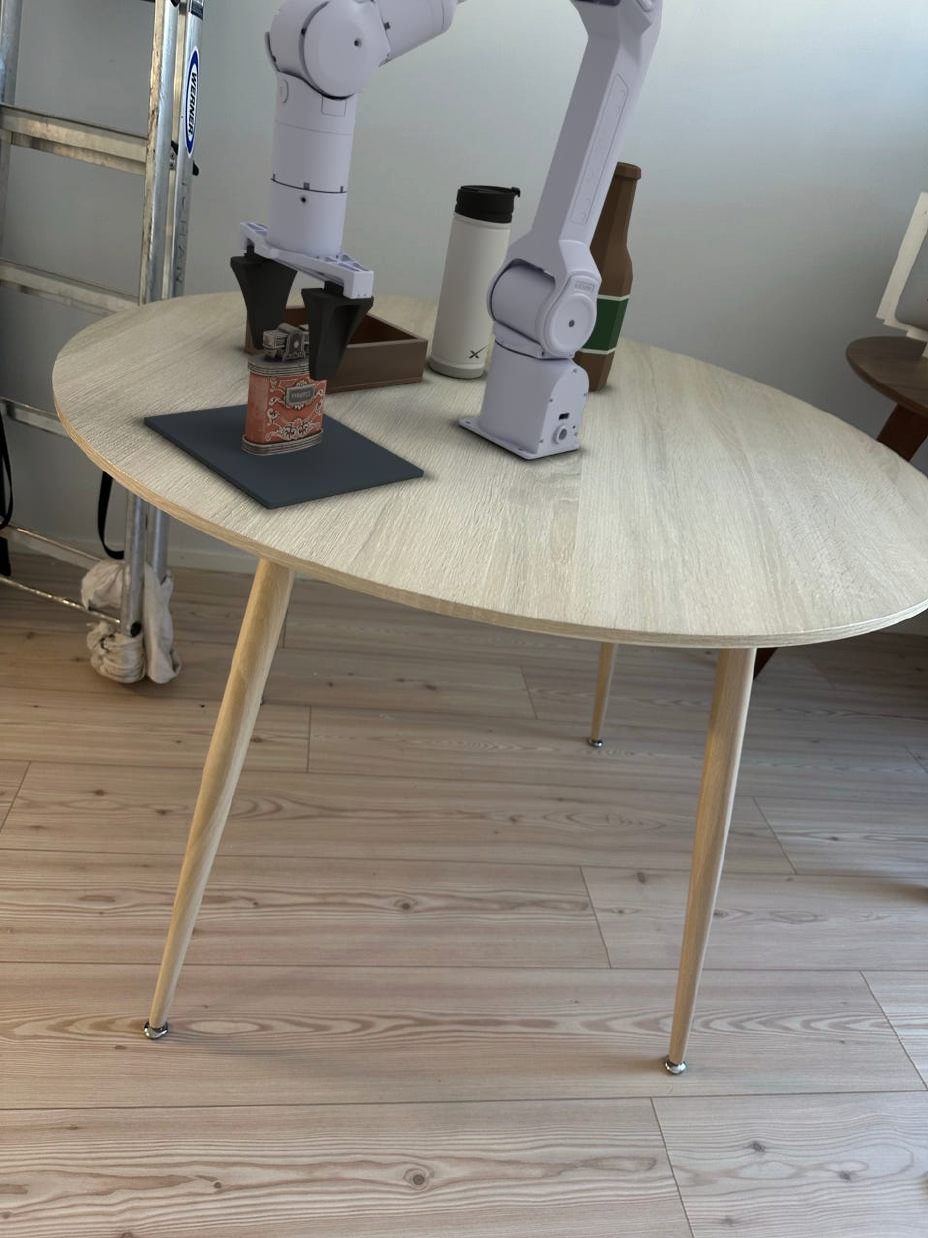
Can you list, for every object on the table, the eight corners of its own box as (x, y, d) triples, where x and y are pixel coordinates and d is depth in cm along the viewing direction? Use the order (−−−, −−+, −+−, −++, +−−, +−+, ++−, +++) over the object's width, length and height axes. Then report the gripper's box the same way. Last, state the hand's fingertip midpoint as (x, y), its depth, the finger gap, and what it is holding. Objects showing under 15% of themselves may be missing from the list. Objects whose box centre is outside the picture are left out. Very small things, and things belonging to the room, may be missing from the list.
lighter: (260, 459, 80) (270, 337, 75) (232, 444, 82) (240, 323, 77) (330, 442, 86) (344, 327, 81) (303, 428, 87) (315, 315, 82)
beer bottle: (604, 378, 121) (659, 167, 109) (606, 396, 114) (664, 174, 102) (542, 365, 121) (590, 153, 109) (541, 383, 114) (591, 159, 102)
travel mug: (485, 383, 110) (522, 193, 100) (427, 372, 110) (458, 180, 100) (485, 367, 116) (520, 185, 106) (430, 357, 115) (460, 173, 105)
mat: (423, 475, 85) (424, 470, 84) (269, 509, 74) (269, 503, 73) (296, 402, 94) (296, 397, 94) (143, 422, 83) (143, 416, 83)
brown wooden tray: (422, 381, 107) (428, 340, 105) (323, 393, 98) (328, 349, 95) (343, 341, 114) (347, 302, 112) (244, 349, 105) (246, 307, 103)
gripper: (208, 160, 75) (201, 338, 81) (327, 206, 67) (308, 398, 74) (284, 165, 79) (271, 332, 86) (404, 208, 72) (379, 389, 78)
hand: (293, 362), depth 80 cm, fingers open, 7 cm apart
